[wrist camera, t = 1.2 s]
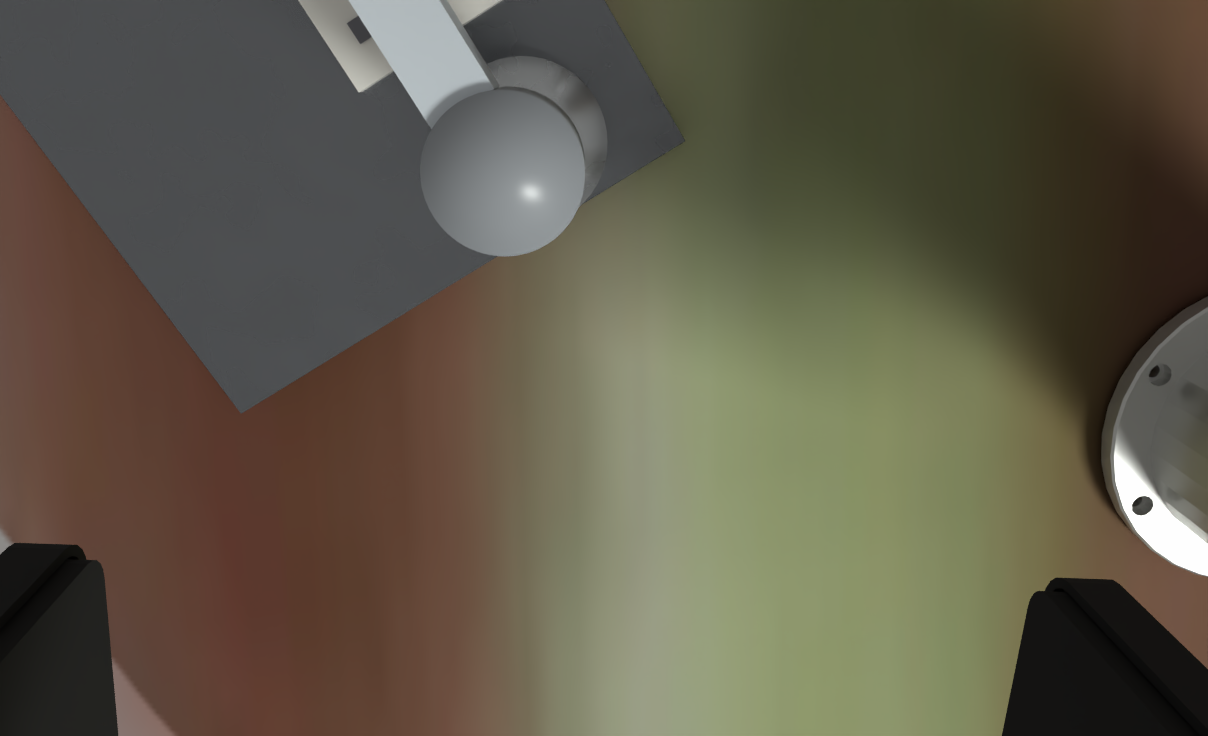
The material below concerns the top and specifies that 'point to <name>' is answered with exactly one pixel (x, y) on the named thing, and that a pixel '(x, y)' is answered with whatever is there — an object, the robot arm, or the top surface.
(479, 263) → the board
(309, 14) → the label plate
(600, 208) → the top surface
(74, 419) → the top surface
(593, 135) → the grey metal rounded piece
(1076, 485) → the top surface
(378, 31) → the bar
